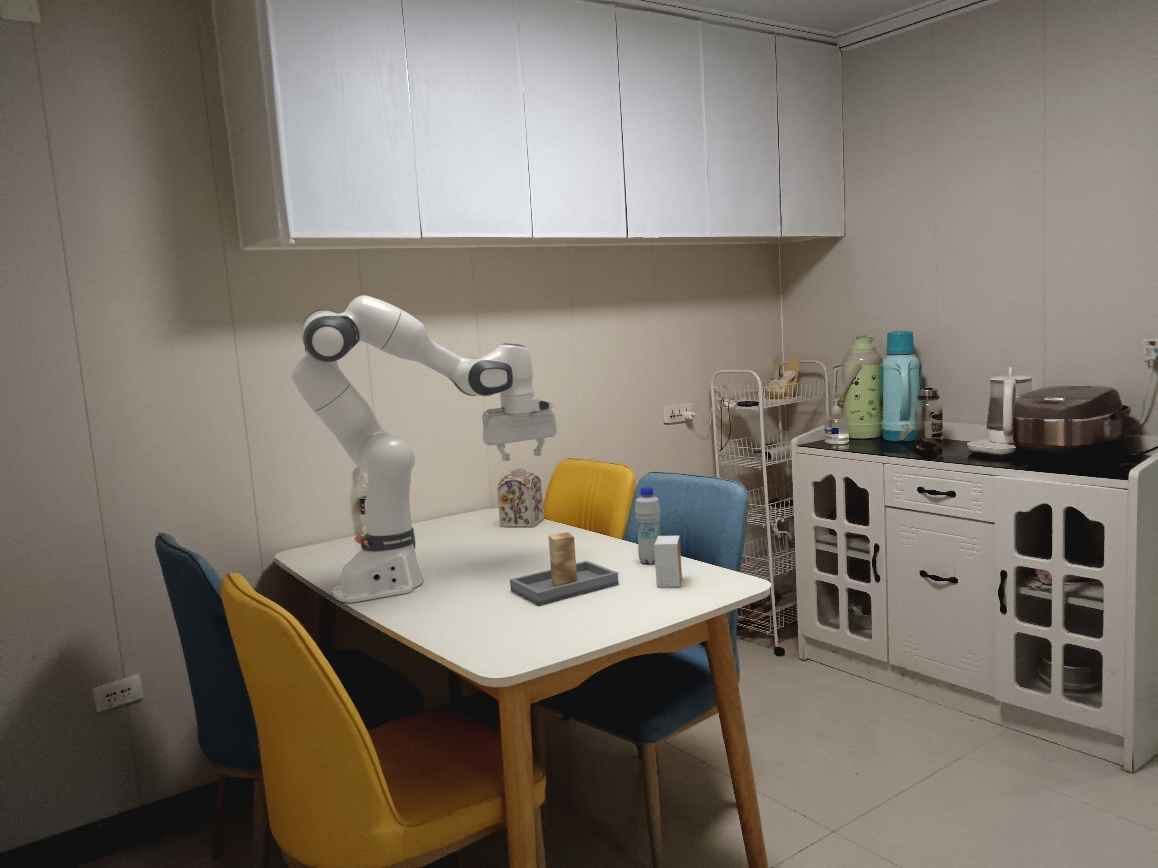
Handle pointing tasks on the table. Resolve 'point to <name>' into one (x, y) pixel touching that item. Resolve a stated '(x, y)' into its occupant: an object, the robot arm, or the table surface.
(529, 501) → the decorative jar
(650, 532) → the bottle
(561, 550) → the oak block
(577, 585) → the tray
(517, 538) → the table surface
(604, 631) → the table surface
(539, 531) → the table surface
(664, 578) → the small box
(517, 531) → the table surface
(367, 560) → the robot arm
